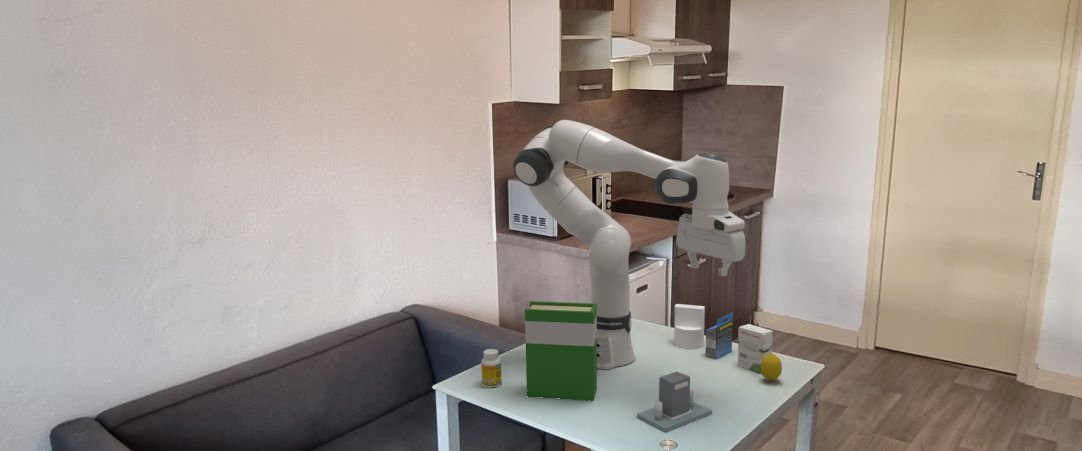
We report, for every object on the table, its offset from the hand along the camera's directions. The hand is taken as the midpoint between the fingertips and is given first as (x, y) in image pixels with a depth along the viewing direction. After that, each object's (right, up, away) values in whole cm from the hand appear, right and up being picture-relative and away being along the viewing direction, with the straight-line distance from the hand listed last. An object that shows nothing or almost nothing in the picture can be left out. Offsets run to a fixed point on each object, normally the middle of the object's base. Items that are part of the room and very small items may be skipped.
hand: (708, 271), depth 203 cm
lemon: (+20, -31, +14) cm, 39 cm away
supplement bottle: (-56, -32, +15) cm, 66 cm away
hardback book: (-37, -33, +9) cm, 50 cm away
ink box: (+18, -29, +23) cm, 41 cm away
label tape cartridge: (+10, -27, +34) cm, 44 cm away
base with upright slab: (+3, -25, +43) cm, 49 cm away
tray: (-10, -35, -6) cm, 37 cm away
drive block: (-10, -34, -6) cm, 36 cm away
